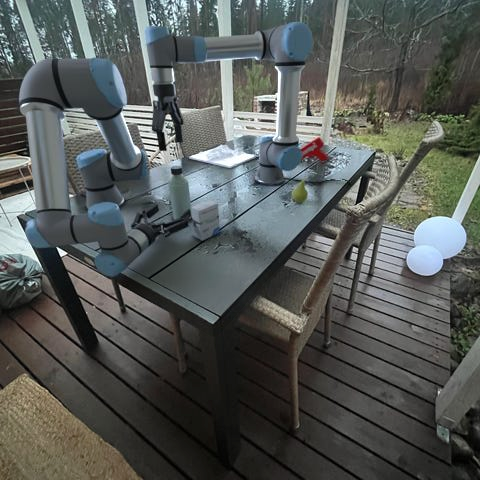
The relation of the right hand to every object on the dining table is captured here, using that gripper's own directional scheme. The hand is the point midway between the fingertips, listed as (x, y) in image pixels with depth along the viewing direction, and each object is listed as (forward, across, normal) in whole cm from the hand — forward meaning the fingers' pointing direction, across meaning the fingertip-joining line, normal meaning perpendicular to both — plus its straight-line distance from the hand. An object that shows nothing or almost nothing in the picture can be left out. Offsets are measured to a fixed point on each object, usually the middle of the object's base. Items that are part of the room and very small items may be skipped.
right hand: (171, 146), depth 105 cm
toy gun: (+25, -80, +52) cm, 99 cm away
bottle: (+26, +9, +6) cm, 28 cm away
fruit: (+25, -17, +50) cm, 59 cm away
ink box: (+26, +19, +20) cm, 38 cm away
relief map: (+25, -74, -4) cm, 78 cm away
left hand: (+19, +15, +6) cm, 25 cm away
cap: (+5, +9, +6) cm, 12 cm away
